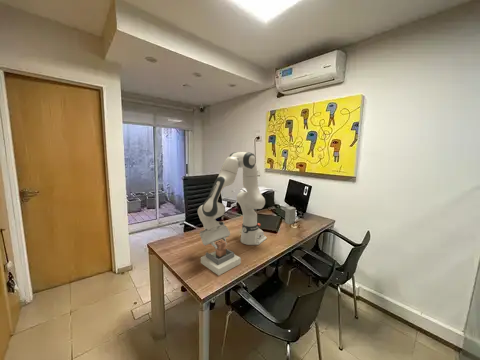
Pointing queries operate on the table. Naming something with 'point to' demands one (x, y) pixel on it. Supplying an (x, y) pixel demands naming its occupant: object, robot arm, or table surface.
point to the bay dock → (220, 262)
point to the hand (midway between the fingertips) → (221, 246)
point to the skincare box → (290, 215)
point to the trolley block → (221, 249)
